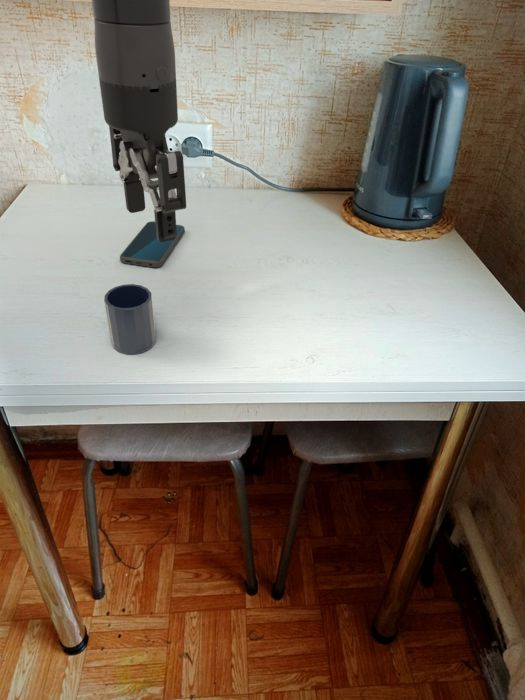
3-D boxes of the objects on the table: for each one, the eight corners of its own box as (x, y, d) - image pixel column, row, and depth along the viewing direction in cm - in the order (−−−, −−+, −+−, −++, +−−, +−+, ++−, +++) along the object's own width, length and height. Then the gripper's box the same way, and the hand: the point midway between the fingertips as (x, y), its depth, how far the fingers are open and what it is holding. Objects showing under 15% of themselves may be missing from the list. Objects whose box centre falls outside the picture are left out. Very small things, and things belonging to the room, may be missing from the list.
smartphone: (117, 262, 87) (117, 257, 87) (148, 224, 99) (148, 220, 98) (160, 268, 86) (160, 263, 86) (186, 229, 98) (186, 225, 97)
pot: (121, 360, 68) (114, 314, 63) (105, 336, 72) (97, 291, 67) (162, 346, 71) (159, 301, 66) (145, 323, 75) (140, 279, 70)
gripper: (76, 61, 53) (98, 208, 63) (130, 94, 44) (146, 258, 55) (143, 57, 57) (154, 197, 67) (206, 87, 48) (207, 243, 58)
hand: (151, 224), depth 61 cm, fingers open, 8 cm apart
